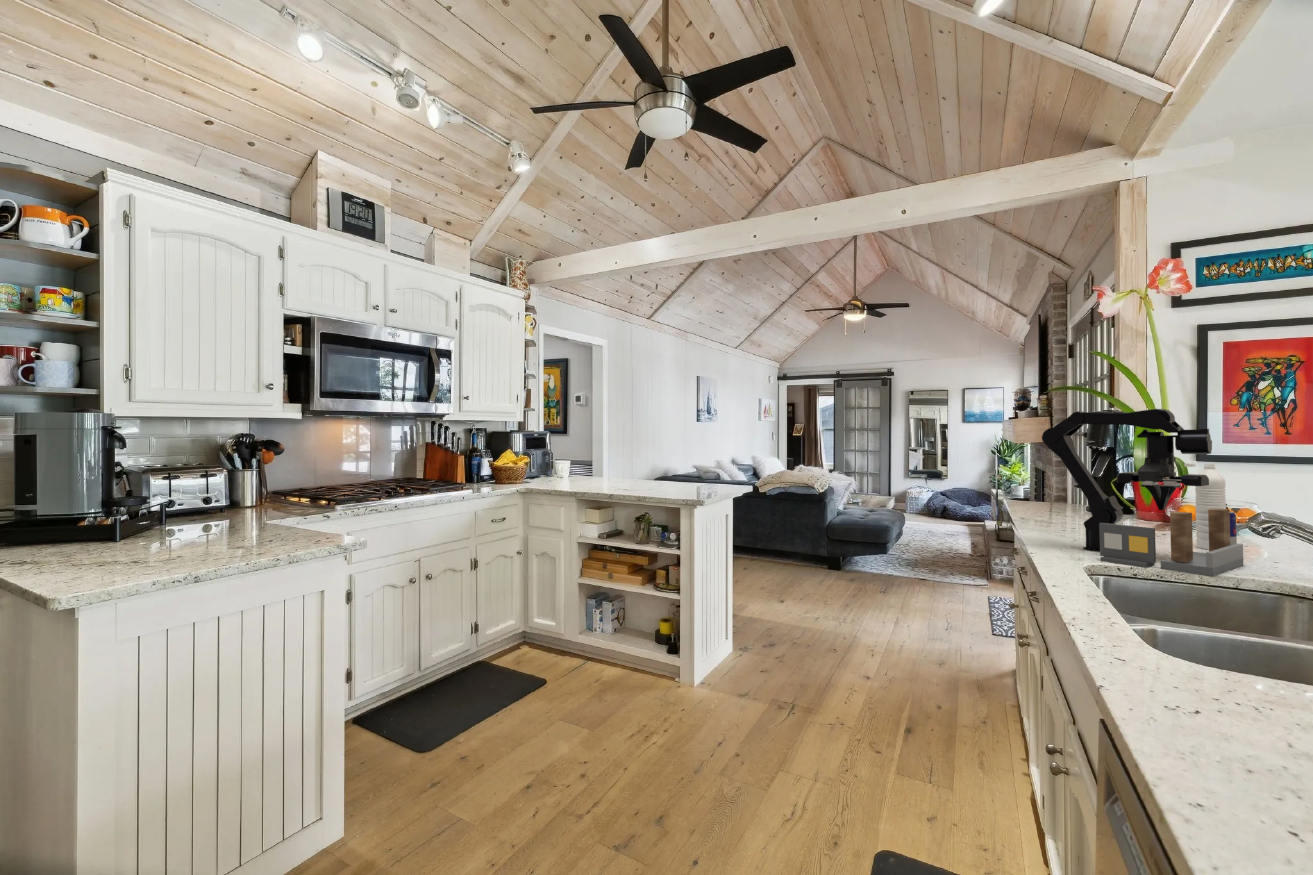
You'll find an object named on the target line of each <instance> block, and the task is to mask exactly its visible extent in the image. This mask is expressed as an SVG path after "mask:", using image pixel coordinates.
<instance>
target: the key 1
mask: <svg viewBox="0 0 1313 875" xmlns="http://www.w3.org/2000/svg"><path fill="white" fill-rule="evenodd" d="M1169 522H1170V523H1169V524H1170V529H1169V530H1170V558H1171V560H1172V561H1179V562H1186V563H1187V562H1190V561H1193V552H1194V546H1193V545H1194V544H1193V541H1194V540H1193V513H1192V512H1187V511H1185V512H1183V511H1174V512H1173V511H1172V512H1169Z"/></svg>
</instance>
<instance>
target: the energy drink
mask: <svg viewBox="0 0 1313 875" xmlns="http://www.w3.org/2000/svg"><path fill="white" fill-rule="evenodd" d="M1237 532H1238V531H1237V515H1236V512H1235V511H1230V545H1233V544H1236V543H1237V542H1238V540H1237V539H1238V536H1237V534H1238V533H1237ZM1237 544H1238V543H1237Z"/></svg>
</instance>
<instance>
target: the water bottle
mask: <svg viewBox="0 0 1313 875" xmlns="http://www.w3.org/2000/svg"><path fill="white" fill-rule="evenodd" d="M1184 467H1190V468H1194V467H1197V464H1196V463H1194V462H1185V463H1184ZM1198 475H1206V476H1207V477H1208V478H1209V485H1206V486H1194V487H1195V488H1194V490H1195V491H1194V492H1195V512H1196V513H1195V524H1196V526H1195V530H1196V536H1195V537H1196V543H1195V544H1196V547H1197V548H1198V549H1203V550H1208V551H1209V525H1208V510H1209V509H1213V508H1216V509H1227V506H1226V504H1227V503H1226V502H1227V501H1226V479H1225V477H1224V476H1223V475H1222V474H1221V473H1220V472H1219V470H1217V469H1216V464H1215V463H1204V464H1203V468H1202V470H1201V471H1200V472H1199V473H1198Z"/></svg>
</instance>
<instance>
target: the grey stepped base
mask: <svg viewBox="0 0 1313 875" xmlns="http://www.w3.org/2000/svg"><path fill="white" fill-rule="evenodd" d="M1243 565H1244V544H1243V543H1236V544H1233V545H1230V546H1226V547H1223V548H1220V549H1217V550H1213V551H1210V552H1209V551H1208V552H1200V551H1193V561H1190V562H1187V563H1186V562H1179V561H1172V560H1171V557H1169V558H1165V559H1162V560H1160V569H1161V570H1166V571H1167V570H1168V571H1175V572H1181V573H1187V574H1193V575H1202V576H1208V577H1215V576H1218V575H1221V574H1224V573H1227V572H1229V571H1228V570H1230V571H1232V570H1235V569H1238V568H1240V567H1243ZM1223 572H1224V573H1223Z"/></svg>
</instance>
